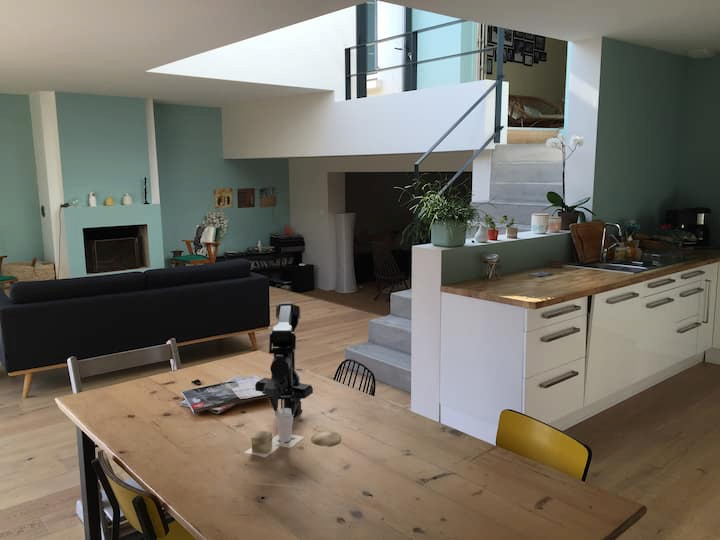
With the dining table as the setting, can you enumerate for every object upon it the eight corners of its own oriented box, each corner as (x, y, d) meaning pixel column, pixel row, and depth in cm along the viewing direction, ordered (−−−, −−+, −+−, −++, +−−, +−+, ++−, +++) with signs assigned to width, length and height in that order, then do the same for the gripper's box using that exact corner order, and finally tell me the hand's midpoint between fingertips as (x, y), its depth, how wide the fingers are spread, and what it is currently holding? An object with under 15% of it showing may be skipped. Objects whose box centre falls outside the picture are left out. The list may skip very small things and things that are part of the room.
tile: (244, 453, 188) (244, 452, 188) (258, 442, 196) (258, 442, 196) (265, 457, 185) (265, 457, 185) (279, 447, 192) (279, 446, 192)
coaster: (305, 442, 195) (305, 441, 195) (320, 430, 204) (320, 429, 204) (332, 448, 191) (332, 447, 191) (346, 435, 200) (346, 434, 200)
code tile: (266, 443, 195) (266, 442, 195) (281, 432, 203) (281, 431, 203) (290, 448, 191) (290, 447, 191) (304, 437, 199) (304, 436, 199)
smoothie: (271, 441, 196) (270, 400, 194) (282, 433, 201) (281, 394, 199) (287, 445, 193) (286, 404, 191) (298, 437, 199) (297, 397, 196)
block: (252, 452, 188) (251, 437, 188) (257, 445, 193) (256, 430, 192) (267, 453, 188) (266, 438, 187) (272, 446, 192) (271, 431, 192)
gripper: (244, 370, 190) (246, 417, 192) (295, 378, 182) (296, 427, 185) (264, 360, 200) (265, 405, 202) (313, 367, 192) (314, 413, 195)
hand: (284, 412), depth 196 cm, fingers closed on smoothie, 6 cm apart
